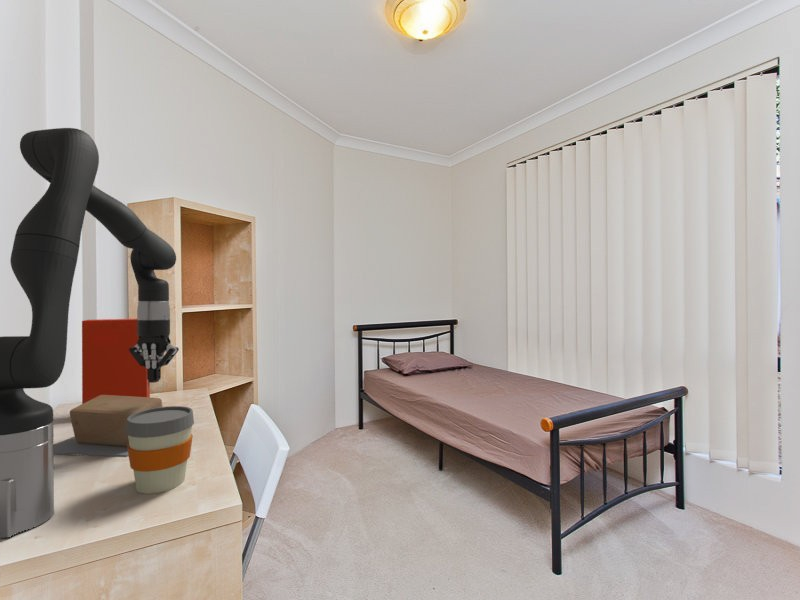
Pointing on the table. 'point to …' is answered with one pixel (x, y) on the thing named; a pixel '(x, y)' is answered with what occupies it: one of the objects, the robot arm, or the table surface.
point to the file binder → (111, 360)
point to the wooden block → (108, 418)
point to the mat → (87, 449)
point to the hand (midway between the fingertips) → (154, 381)
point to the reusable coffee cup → (159, 447)
